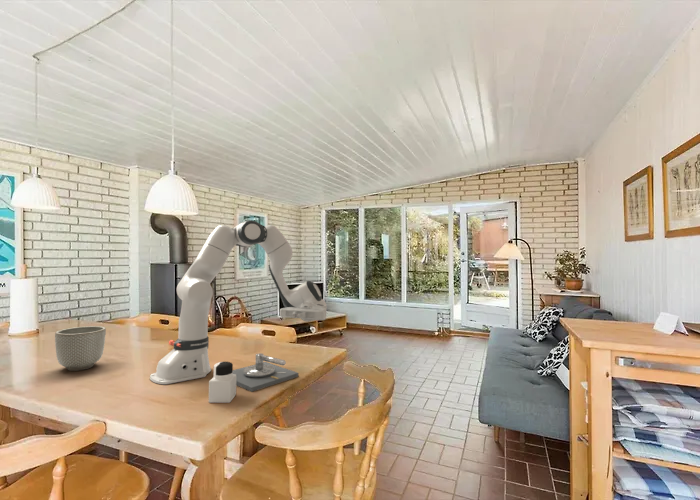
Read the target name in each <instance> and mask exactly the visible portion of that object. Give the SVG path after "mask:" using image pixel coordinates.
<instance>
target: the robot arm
mask: <svg viewBox="0 0 700 500" xmlns="http://www.w3.org/2000/svg"><path fill="white" fill-rule="evenodd" d="M257 244H258V245H260V246H261V247H262V248H263V250H264V251H265V253H266V254H267V256H268V259H269V265H268V270H269V273H270V276H271V278H272V280H273V283H274V285H275V287H276V289H277V292H278V293H279V295H280V299H281V301H282V304H283V307H282V308H280V309H279V316H280V318H291V319H292V318H293V319H300V320H302V321H303V322H307V323H308V322H314V321H325V320H326V319H327V309H328V308H327V303H326V301H325V299H323V295H322V292H321V289H320V287H319V285H317V283H315V282H313V281H312V280H306V281H304V282H303V283H301V284H299V285H297V286H296V287H294V288H291V289H289V287H288V284H287V282H286V280H285V278H284V274H283V271H284V269H285V268H286V267H287V265H288V264H289V263H290V261H291V259H292V256H293V249H292V247H291V245H290V243H289V242H288V240H287V239H286V237H285V236H284V235H283V232H281V231H280V230H279V229H278V228H277V227H276V226H275V225H272V224H268V225H262V224H261V223H260V222H257V221H255V220H250V219H249V220H245V221H242V222H240V223H239V224H237V225H236V226H234V227H230V226H227V225H218V226H216V227H215V228H214V229H213V230H212V231H211V233H210V234H209V236H208V237H207V238H206V240H205V242H204V243H203V245H202V247H201V249H200V250H199V252H198V254H197V256H196V258H195V260H194V261H193V262H192V264H191V265H190V266H189V268H188V269H187V270H186V272H185V273H184V275H183V276H182V278H181V279H180V281H179V282H178V284H177V286H176V294H177V297H178V298H179V299H180V300H181V307H180V308H181V309H180V315H179V318H178V336H177V337H178V338H177V339H176V340H173V339H170V340H169V341H168V345H169V346H173V348H172V349H171V350H170V351H169V352H168V353H167V354H166V355H165V356H163V357H162V358H161V359H160V360H158V362H157V366H156V369H155V370H156V371H155V372H154V373H151V374H150V376H149V379H150V381H151V382H153V383H155V384H158V385H159V384H160V385H169V384H174V383H180V382H185V381H191V380H194V379H195V380H196V379H200V378H205V377H206V376H207V374H209V373H210V372H211V371H212V368H211V365H210V359H209V345H210V344H209V343H210V341H209V336H208V335H209V334H208V327H209V320H208V319H209V314H210V309H211V302H212V298H213V295H214V289H213V287H212V284H211V283H212V281H213V280H214V279H215V278H216V276H217V275H218V274H219V273H220V272H221V271H222V269H223V267H224V265H225V263H226V261H227V259H228V257H229V256H230V254H231V251H232V250H233V248H234V247H236V246H237V247H242V248H246V247H252V246H255V245H257Z"/></svg>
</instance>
